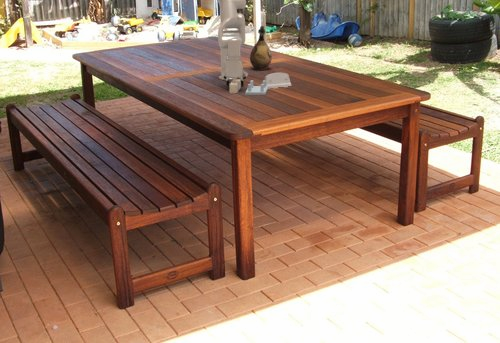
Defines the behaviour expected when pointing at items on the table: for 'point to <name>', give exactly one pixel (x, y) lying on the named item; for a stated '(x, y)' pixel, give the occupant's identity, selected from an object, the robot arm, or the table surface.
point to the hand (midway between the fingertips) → (235, 86)
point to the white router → (277, 80)
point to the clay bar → (235, 85)
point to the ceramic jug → (260, 53)
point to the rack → (256, 89)
